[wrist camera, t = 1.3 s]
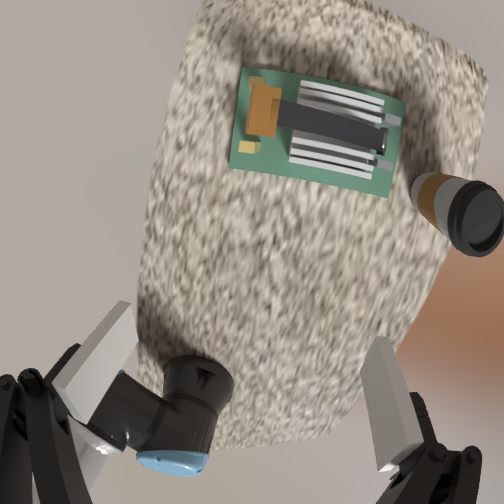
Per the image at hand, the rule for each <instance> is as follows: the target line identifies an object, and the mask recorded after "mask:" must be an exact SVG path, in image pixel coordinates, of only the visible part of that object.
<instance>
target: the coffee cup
mask: <svg viewBox="0 0 504 504" xmlns="http://www.w3.org/2000/svg"><path fill="white" fill-rule="evenodd" d="M411 200H412V203H413V205H414V207H415V209H416V210H417V211H418V212H419V213H421V214H422V215H423V216H424V217H425V218H426V219H427V220H428V221H429V222H430V223H431V224H432V225H433V226H434V227H436V228H437V229H438V230H439V231H440V232H441V233H442V234H444V235H445V236H446V237H447V238H448V239H449V240H450V241H451V242H452V244H453V245H454V246H455V248H456V249H457V250H459V251H461V252H462V253H464V254H466V255H468V256H475V257H483V256H486V255H488V254H490V253H491V252H492V251H493V250H494V249H495V248H496V247H497V246H498V245H499V243H500V242H501V240H502V237H503V235H504V201H503V199H502V198H501V196H500V195H499V194H498V193H497V191H496V190H495V189H494V188H492V187H491V186H490V185H487V184H486V183H485V182H482V181H479V180H478V181H471V180H466V179H463V178H460V177H456V176H451V175H446V174H440V173H439V174H437V173H432V172H426V173H423V174H421V175H419V176H418V177H417V178H416V180H415V181H414V182H413V185H412V188H411Z"/></svg>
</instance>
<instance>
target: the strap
mask: <svg viewBox="0 0 504 504" xmlns="http://www.w3.org/2000/svg"><path fill="white" fill-rule="evenodd" d="M281 91H282V89H280V88H276V87H272V86H267V85H262V84H257V83H254V84H252V88H251V94H250V101H249V108H248V115H247V122H246V130H245V134H252V135H260V136H267V137H274V138H275V132H276V127H281V128H286V129H292V130H297V131H302V132H307V133H311V134H316V135H320V136H325V137H329V138H333V139H337V140H341V141H345V142H349V143H352V144H356V145H360V146H363V147H367V148H370V149H373V150H377V152H376V154H378V155H381V156H385V151H386V146H387V140H388V134H389V129H388V128H384V127H381V128H380V129H378V128H375V127H373V126H370V125H367V124H364V123H361V122H359V121H356V120H353V119H350V118H346V117H343V116H340V115H337V114H334V113H330V112H327V111H323V110H320V109H316V108H313V107H309V106H305V105H301V104H297V103H293V102H288V101H284V100H280V98H281Z"/></svg>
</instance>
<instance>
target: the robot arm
mask: <svg viewBox="0 0 504 504" xmlns="http://www.w3.org/2000/svg"><path fill="white" fill-rule="evenodd" d="M138 341H139V339H138V335H137V330H136V325H135V320H134V315H133V309H132V304H131V303H128V302H123V301H119V302H118V303H117V305H116V306H115V307H114V308H113V309H112V310H111V311H110V313H109V314H108V315H107V316H106V317H105V318H104V319H103V321H102V322H101V323H100V324H99V325H98V326H97V327H96V329H95V330H94V331H93V332H92V333H91V334H90V336H89V337H88V338H87V339H86V340H85V342H84V343H83V344H82V345H80V344H78V343H76V344H75V345H73V346H72V347H70V348H68V350H67V351H66V352H65V353H64V354H63V356H62V357H61V358H60V359H59V361H57V363H56V364H55V365H54V366H53V368H52V369H51V370H50V371H49V373H48V374H47V375H46V376H45V378H44V379H43V378H42V376H41V374H40V373H39V371H38V370H36V369H34V368H28V369H25V370H23V371H22V372H21V373H20V375H19V376H18V379H17V381H18V382H19V383H17V382H16V380H15V379H14V377H13V376H12V375H9V374H5V375H2V376H1V377H0V504H93V503H92V501H91V498H90V495H89V493H90V491H91V489H92V488H93V486H94V484H95V482H96V480H97V478H98V477H99V475H100V473H101V471H102V469H103V468H104V466H105V464H106V462H107V460H108V459H109V457H110V456H112V455H116V454H122V453H123V451H124V449H125V448H126V446H129V447H131V448H132V449H134V450H136V451H137V453H136V459H137V461H138V462H139V463H141V464H142V465H144V466H145V467H148V468H150V469H152V470H155V471H158V472H161V473H165V474H169V475H174V476H182V477H191V476H196V475H199V474H200V473H202V472H203V470H204V467H205V465H206V462H207V459H208V458H209V452H210V448H211V444H212V440H213V436H214V432H215V428H216V423H217V420H218V416H219V414H220V413H221V411H222V410H223V408H224V407H225V405H226V404H227V403H228V402H229V401H230V399H231V398H232V395H233V391H234V381H233V379H232V377H231V375H230V374H229V373H228V372H227V371H226V370H225V369H224V368H222V367H221V366H220V365H218V364H216V363H214V362H212V361H210V360H207V359H204V358H201V357H196V356H181V357H177V358H175V359H173V360H171V361H170V362H169V364H168V366H167V368H166V370H165V372H164V385H163V397H162V398H161V397H159V396H158V395H156V394H155V393H153V392H152V391H150V390H149V389H147V388H146V387H144V386H143V385H141V384H140V383H139V382H137V381H136V380H134V379H133V378H131V377H130V376H129V375H127V374H126V373H125V371H124V370H121V367H122V366H123V364H124V363H125V361H126V360H127V358H128V356H129V355H130V353H131V352H132V350H133V349H134V347H135V346H136V344H137V343H138ZM360 375H361V380H362V384H363V389H364V394H365V399H366V404H367V409H368V414H369V419H370V425H371V430H372V437H373V443H374V449H375V455H376V463H377V470H378V472H381V471H388V470H393V469H394V468H395V467H396V466H398V465H399V468H400V470H399V471H398V472H397V473H396V474H394V475H393V476H392V477H391V478H390V480H392V479H393V480H392V481H391V483H390V484H389V486H388V487H387V489H386V490H385V492H384V493H383V494H382V496H381V497H380V499H379V500H378V501H377V502H376V504H476V500H477V495H478V489H479V482H480V474H481V465H482V454H481V451H480V450H479V449H478V448H477V447H475V446H468V447H466V448H465V449H464V450H463V451H450V450H447V448H446V447H445V446H444V445H443V444H441V443H438V442H437V440H436V437H435V434H434V430H433V427H432V424H431V421H430V418H429V417H428V412H427V410H426V406H425V403H424V400H423V399H422V397H421V396H420V395H419V394H418V393H417V392H410V393H409V391H408V388H407V385H406V383H405V380H404V377H403V374H402V371H401V369H400V366H399V363H398V361H397V358H396V355H395V353H394V350H393V348H392V345H391V343H390V340H389V338H388V337H380V336H376V337H375V339H374V341H373V344H372V346H371V348H370V351H369V353H368V355H367V357H366V359H365V362H364V364H363V366H362V368H361V370H360ZM32 472H33V475H34V482H33V484H32Z"/></svg>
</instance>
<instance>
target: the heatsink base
mask: <svg viewBox="0 0 504 504" xmlns="http://www.w3.org/2000/svg"><path fill="white" fill-rule="evenodd" d="M254 83H257V84H262V85H267V86H272V87H276V88H280V89H282V91H281V98H280V100H284V101H288V102H293V103H297V104H301V105H305V106H309V107H313V108H316V109H320V110H323V111H327V112H330V113H334V114H337V115H340V116H343V117H346V118H350V119H353V120H356V121H359V122H361V123H364V124H367V125H370V126H373V127H375V128H378V129H380V128H381V127H384V128H388V129H389V134H388V140H387V146H386V151H385V156H381V155H378V154H376V152H377V150H373V149H370V148H367V147H363V146H360V145H356V144H352V143H349V142H345V141H341V140H337V139H333V138H329V137H325V136H320V135H316V134H311V133H307V132H302V131H297V130H292V129H286V128H281V127H276V132H275V138H274V137H267V136H260V135H252V134H245V130H246V122H247V115H248V108H249V101H250V94H251V88H252V84H254ZM404 109H405V102H404V101H401V100H398V99H396V98H393V97H390V96H387V95H384V94H380V93H377V92H374V91H371V90H367V89H364V88H360V87H357V86H353V85H349V84H345V83H341V82H337V81H332V80H328V79H323V78H318V77H313V76H308V75H302V74H296V73H290V72H283V71H275V70H267V69H257V68H246V67H242V73H241V80H240V86H239V93H238V100H237V107H236V114H235V121H234V129H233V136H232V144H231V152H230V160H229V168H233V169H241V170H248V171H255V172H262V173H268V174H274V175H280V176H286V177H292V178H298V179H303V180H308V181H314V182H319V183H324V184H328V185H333V186H338V187H343V188H347V189H352V190H356V191H360V192H364V193H369V194H373V195H377V196H381V197H385V198H388V197H389V192H390V188H391V184H392V179H393V174H394V170H395V165H396V159H397V154H398V149H399V143H400V137H401V131H402V124H403V117H404Z"/></svg>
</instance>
